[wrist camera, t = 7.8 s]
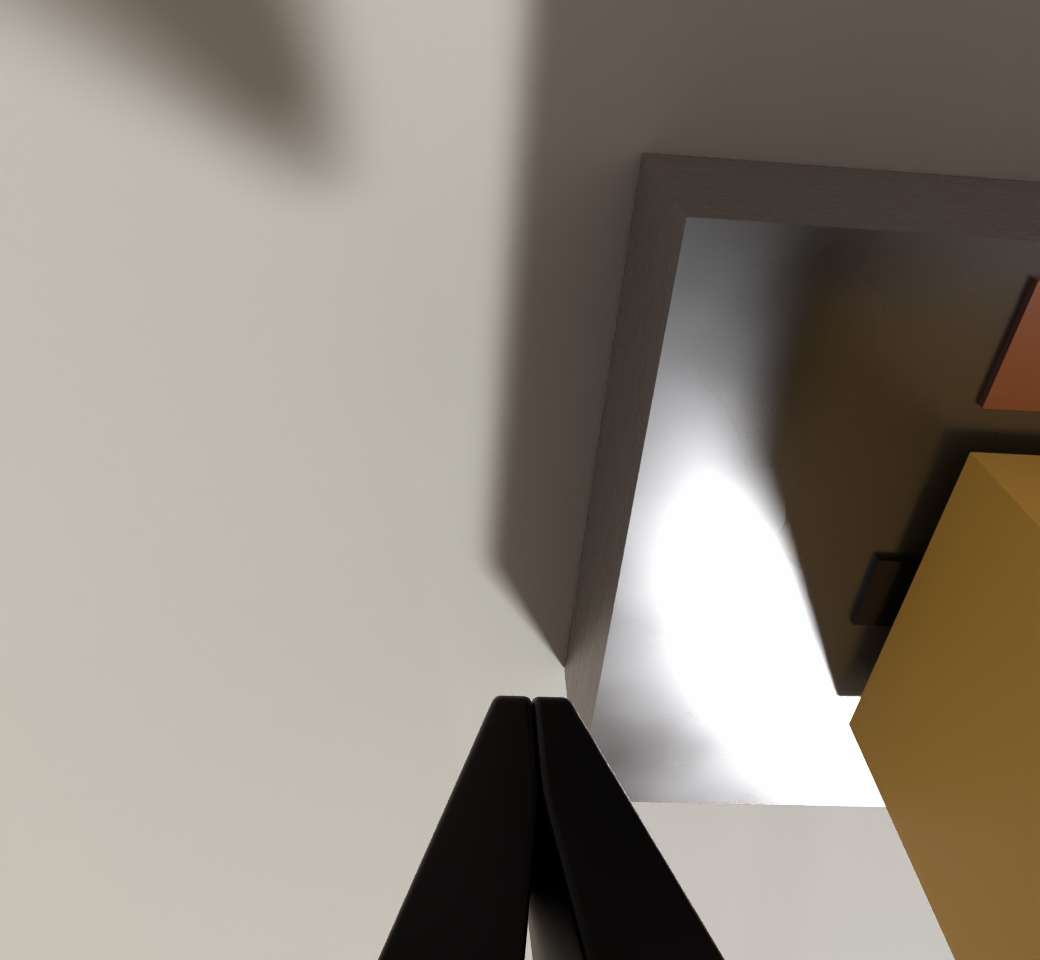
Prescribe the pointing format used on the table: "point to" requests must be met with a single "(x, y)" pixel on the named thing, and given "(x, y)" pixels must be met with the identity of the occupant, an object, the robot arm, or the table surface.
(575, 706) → the power box
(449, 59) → the table surface
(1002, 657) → the handle
